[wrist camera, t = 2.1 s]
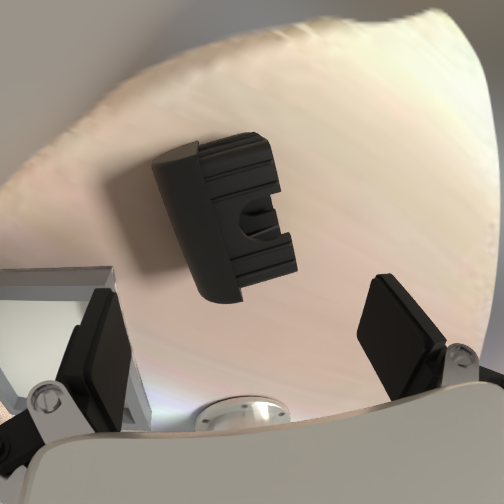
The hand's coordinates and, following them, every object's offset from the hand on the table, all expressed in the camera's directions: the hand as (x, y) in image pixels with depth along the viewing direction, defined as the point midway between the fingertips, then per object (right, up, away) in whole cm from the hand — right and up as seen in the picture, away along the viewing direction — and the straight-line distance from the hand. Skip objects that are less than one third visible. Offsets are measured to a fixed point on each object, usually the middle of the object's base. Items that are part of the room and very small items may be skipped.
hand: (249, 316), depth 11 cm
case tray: (-22, -9, +18) cm, 30 cm away
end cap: (-2, +6, +14) cm, 15 cm away
